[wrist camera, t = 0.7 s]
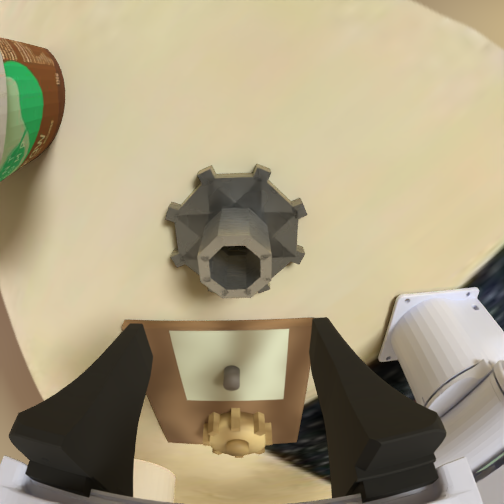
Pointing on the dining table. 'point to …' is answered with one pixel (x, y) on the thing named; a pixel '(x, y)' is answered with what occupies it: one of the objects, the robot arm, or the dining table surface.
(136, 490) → the bottle
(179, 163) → the dining table surface
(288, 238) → the planet gear
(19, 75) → the food container
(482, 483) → the robot arm
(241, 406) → the carrier board
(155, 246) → the dining table surface
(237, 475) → the dining table surface
